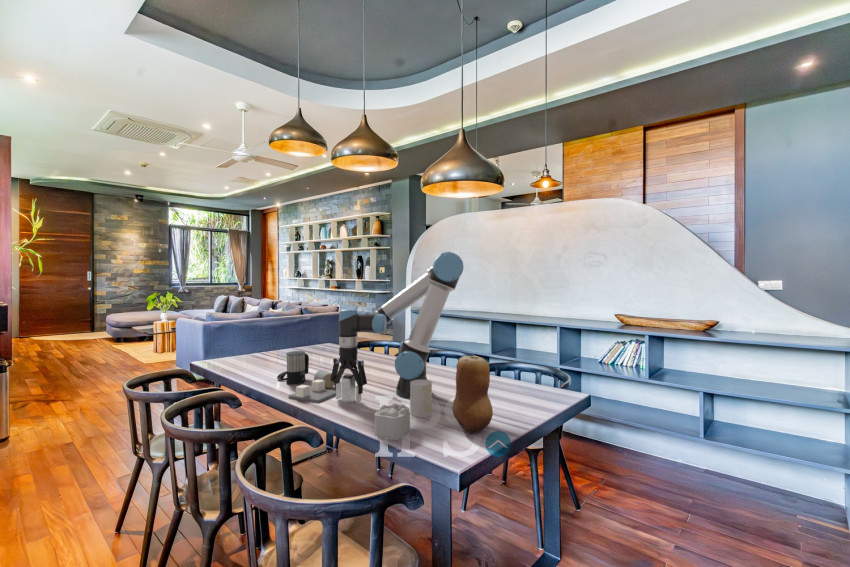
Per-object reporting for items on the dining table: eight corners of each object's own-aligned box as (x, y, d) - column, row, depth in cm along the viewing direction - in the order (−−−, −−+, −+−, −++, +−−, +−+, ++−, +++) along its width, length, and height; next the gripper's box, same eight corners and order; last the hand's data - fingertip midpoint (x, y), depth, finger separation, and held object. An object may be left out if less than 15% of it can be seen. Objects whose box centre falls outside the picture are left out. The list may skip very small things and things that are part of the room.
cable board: (339, 394, 184) (339, 382, 183) (318, 402, 171) (318, 390, 171) (310, 389, 190) (310, 378, 190) (288, 398, 178) (288, 385, 178)
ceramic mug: (323, 390, 189) (323, 373, 189) (313, 387, 195) (313, 370, 195) (342, 386, 197) (342, 370, 197) (332, 383, 203) (332, 367, 203)
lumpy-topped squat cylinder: (370, 436, 136) (370, 410, 135) (389, 423, 147) (389, 399, 147) (399, 441, 131) (399, 414, 131) (416, 427, 143) (416, 402, 143)
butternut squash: (500, 432, 139) (501, 357, 138) (470, 441, 131) (470, 362, 130) (473, 420, 150) (473, 351, 150) (443, 428, 142) (443, 355, 142)
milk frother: (302, 385, 199) (302, 354, 198) (269, 385, 199) (269, 354, 198) (311, 377, 213) (310, 349, 212) (280, 377, 213) (280, 349, 213)
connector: (355, 400, 174) (355, 374, 174) (349, 403, 170) (349, 376, 170) (347, 399, 176) (347, 373, 175) (341, 402, 172) (341, 375, 172)
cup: (424, 418, 152) (424, 386, 152) (406, 414, 156) (406, 383, 156) (435, 412, 159) (435, 381, 159) (417, 408, 163) (417, 378, 163)
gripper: (321, 345, 174) (321, 399, 174) (365, 349, 164) (365, 406, 165) (332, 343, 181) (332, 394, 181) (375, 346, 171) (376, 400, 172)
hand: (348, 400), depth 173 cm, fingers open, 9 cm apart
